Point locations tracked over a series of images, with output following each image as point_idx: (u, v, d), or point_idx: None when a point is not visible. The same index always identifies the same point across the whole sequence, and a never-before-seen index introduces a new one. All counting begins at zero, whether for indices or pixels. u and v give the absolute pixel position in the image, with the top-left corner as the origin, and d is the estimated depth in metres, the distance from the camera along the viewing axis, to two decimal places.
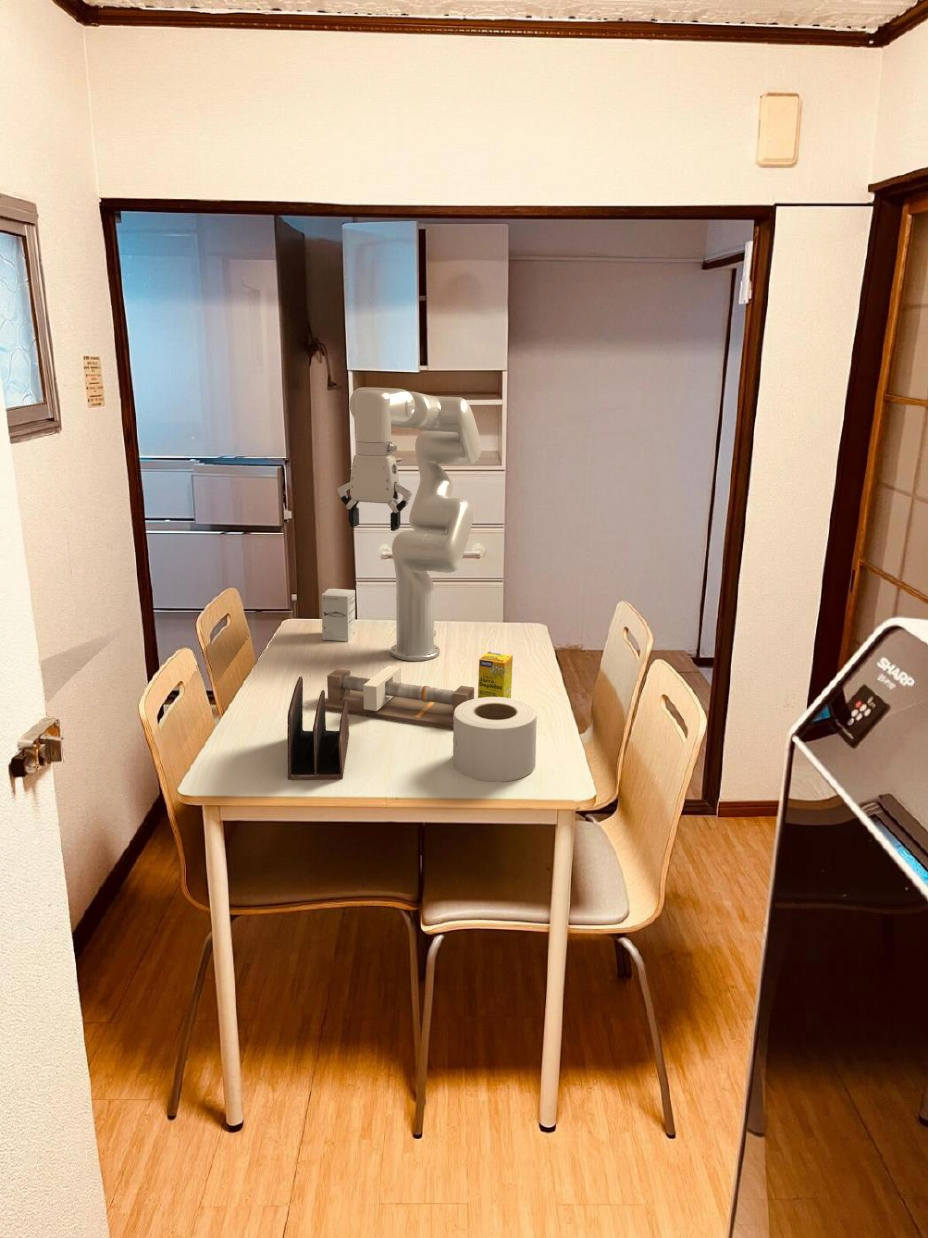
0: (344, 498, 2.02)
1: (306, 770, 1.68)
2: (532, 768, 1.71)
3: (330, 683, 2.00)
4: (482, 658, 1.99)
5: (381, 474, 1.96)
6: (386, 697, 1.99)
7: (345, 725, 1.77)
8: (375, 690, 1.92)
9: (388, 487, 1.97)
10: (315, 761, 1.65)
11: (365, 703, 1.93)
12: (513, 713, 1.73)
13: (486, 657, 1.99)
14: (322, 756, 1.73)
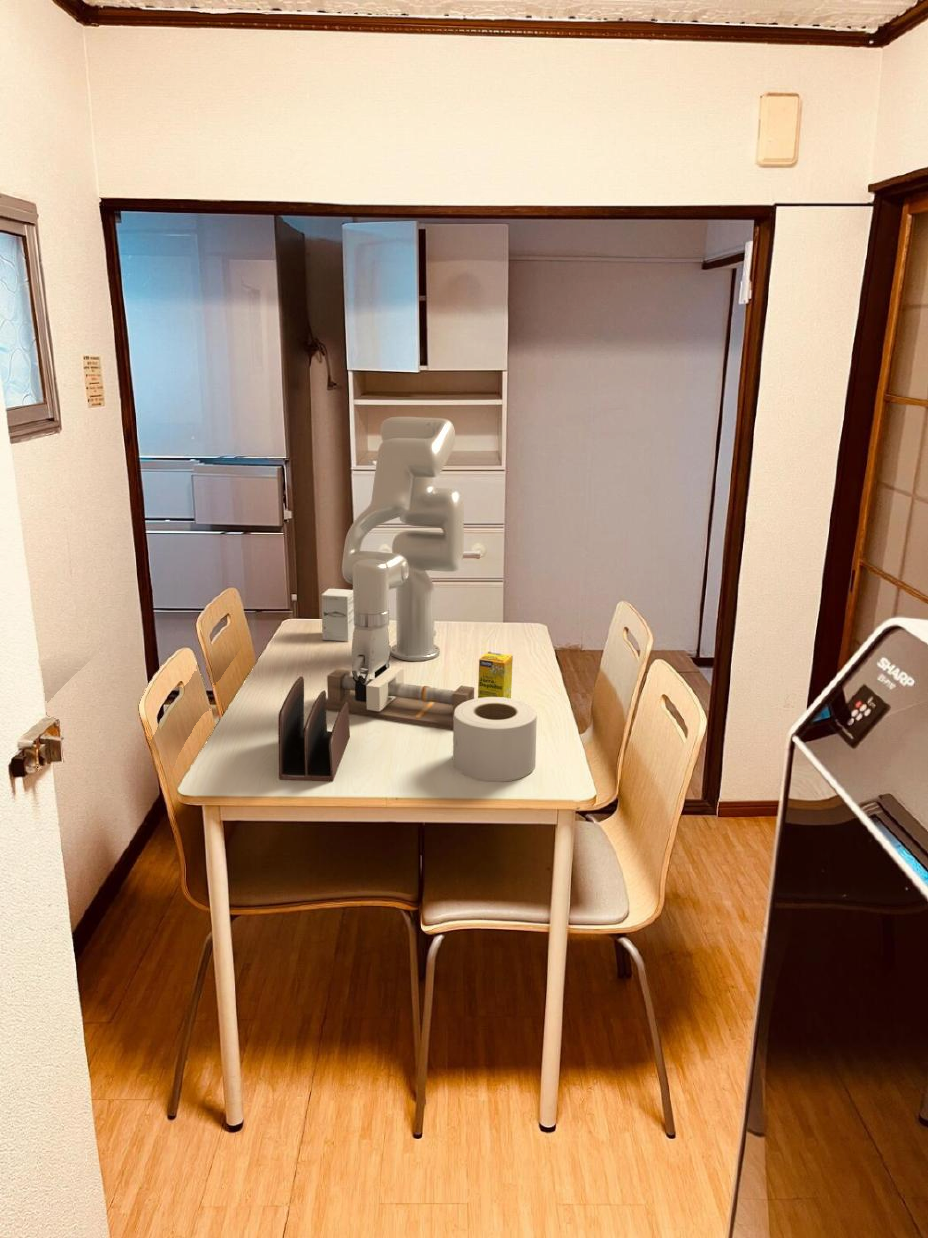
0: (362, 677, 1.92)
1: (298, 770, 1.67)
2: (532, 768, 1.71)
3: (330, 683, 2.00)
4: (482, 658, 1.99)
5: (387, 637, 1.98)
6: (389, 697, 1.99)
7: (342, 727, 1.76)
8: (378, 691, 1.92)
9: (388, 647, 2.00)
10: (306, 762, 1.65)
11: (368, 703, 1.93)
12: (513, 713, 1.73)
13: (486, 657, 1.99)
14: (317, 757, 1.72)
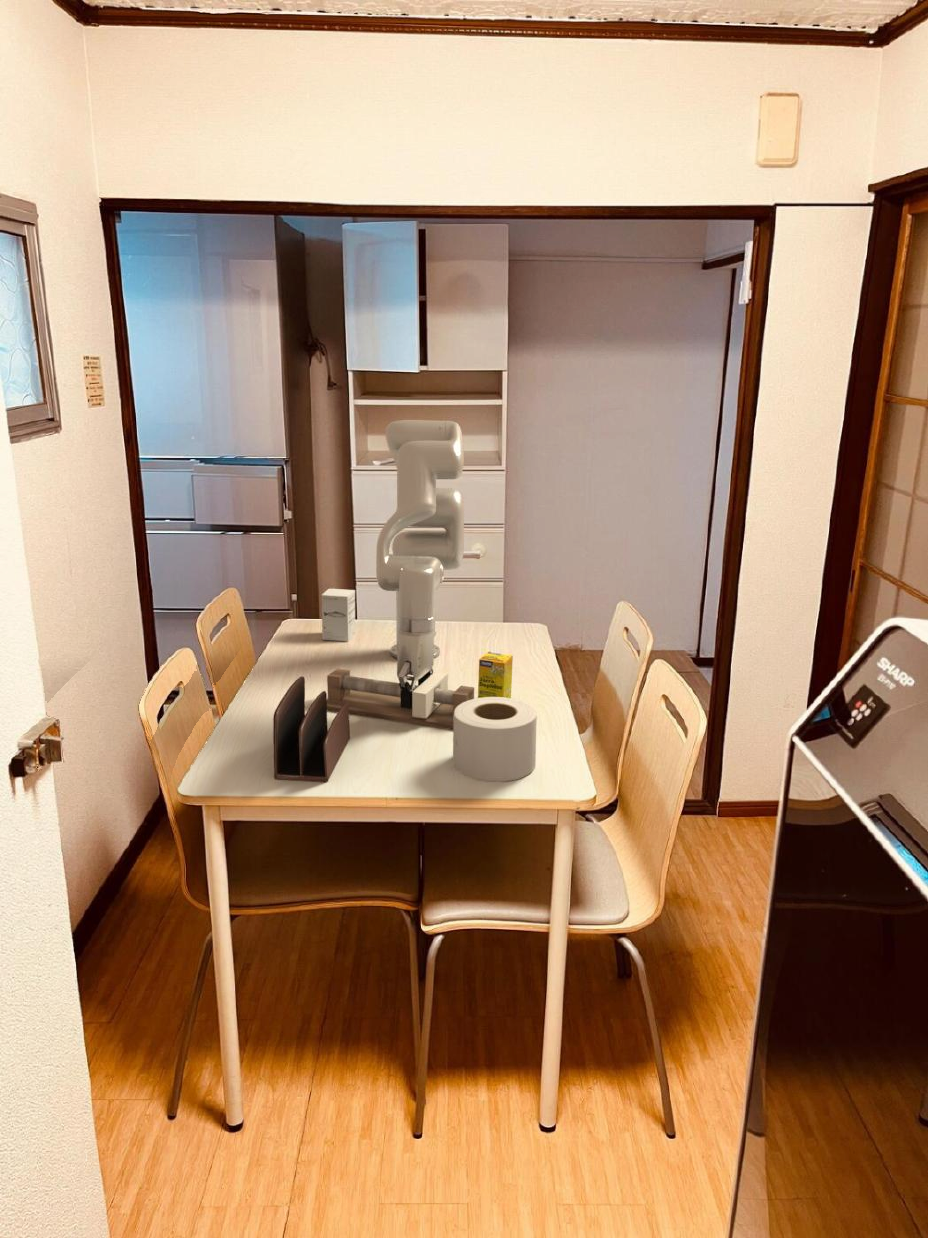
0: (408, 683, 1.88)
1: (293, 770, 1.67)
2: (532, 768, 1.71)
3: (330, 683, 2.00)
4: (482, 658, 1.99)
5: (432, 643, 1.95)
6: (434, 704, 1.95)
7: (341, 728, 1.76)
8: (424, 698, 1.88)
9: (433, 653, 1.97)
10: (300, 762, 1.65)
11: (414, 710, 1.90)
12: (513, 713, 1.73)
13: (486, 657, 1.99)
14: (314, 758, 1.72)
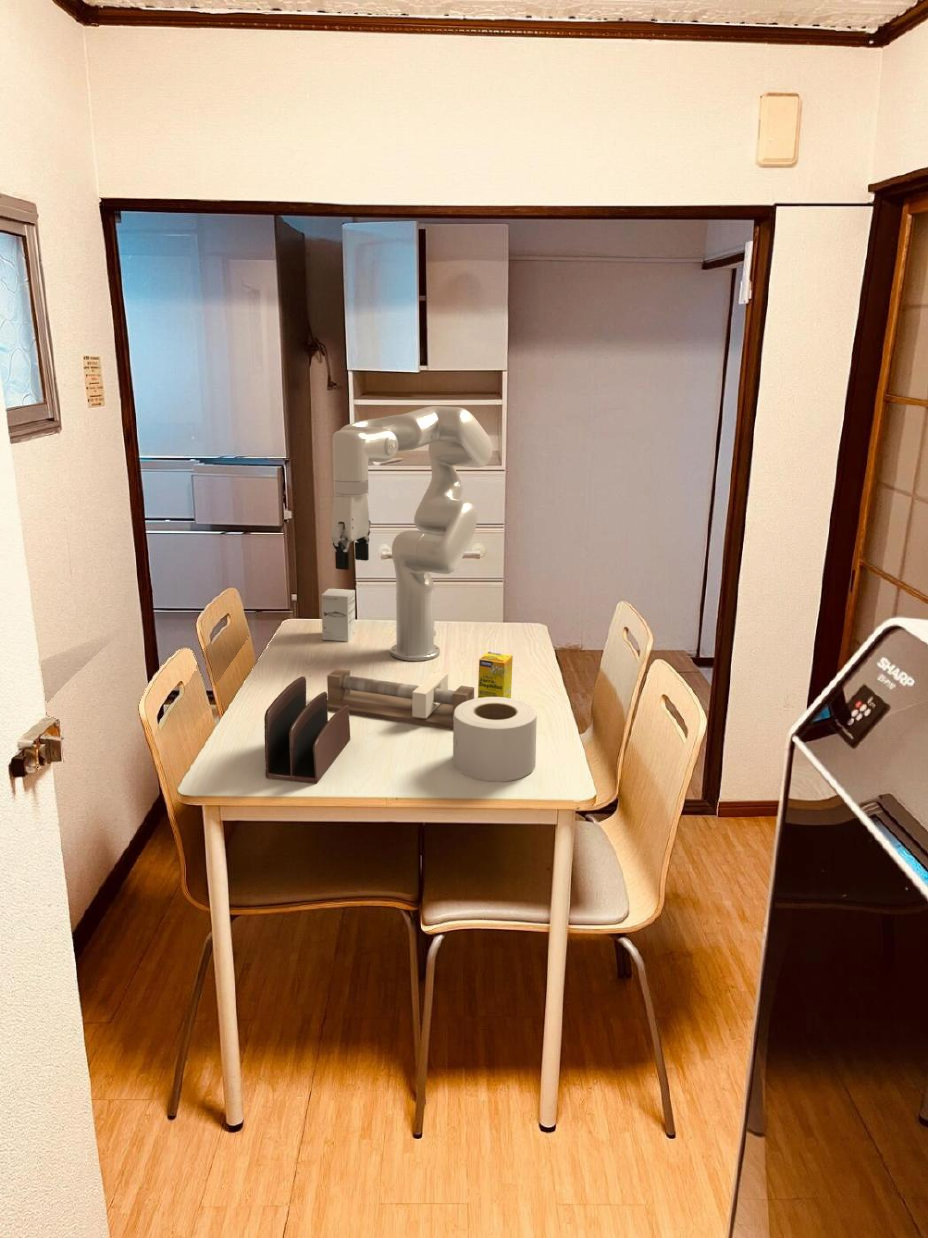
0: (341, 543, 1.97)
1: (285, 770, 1.67)
2: (532, 768, 1.71)
3: (330, 683, 2.00)
4: (482, 658, 1.99)
5: (366, 508, 2.04)
6: (434, 704, 1.95)
7: (337, 729, 1.75)
8: (424, 698, 1.88)
9: (368, 519, 2.06)
10: (291, 762, 1.65)
11: (414, 710, 1.90)
12: (513, 713, 1.73)
13: (486, 657, 1.99)
14: (308, 758, 1.72)
